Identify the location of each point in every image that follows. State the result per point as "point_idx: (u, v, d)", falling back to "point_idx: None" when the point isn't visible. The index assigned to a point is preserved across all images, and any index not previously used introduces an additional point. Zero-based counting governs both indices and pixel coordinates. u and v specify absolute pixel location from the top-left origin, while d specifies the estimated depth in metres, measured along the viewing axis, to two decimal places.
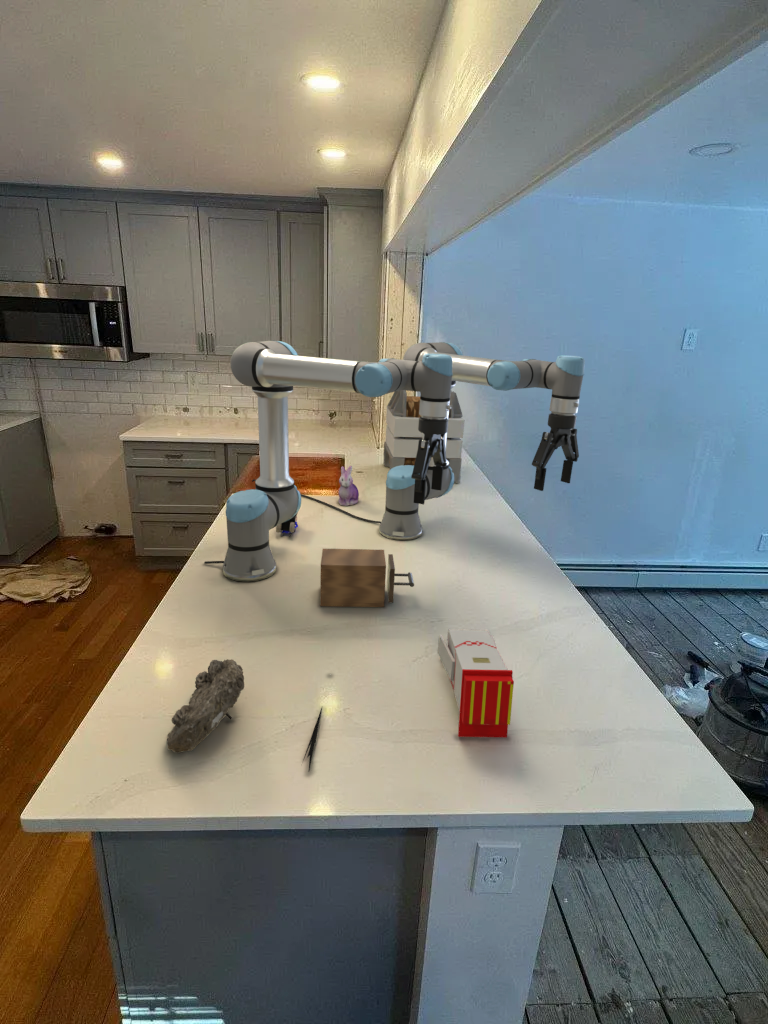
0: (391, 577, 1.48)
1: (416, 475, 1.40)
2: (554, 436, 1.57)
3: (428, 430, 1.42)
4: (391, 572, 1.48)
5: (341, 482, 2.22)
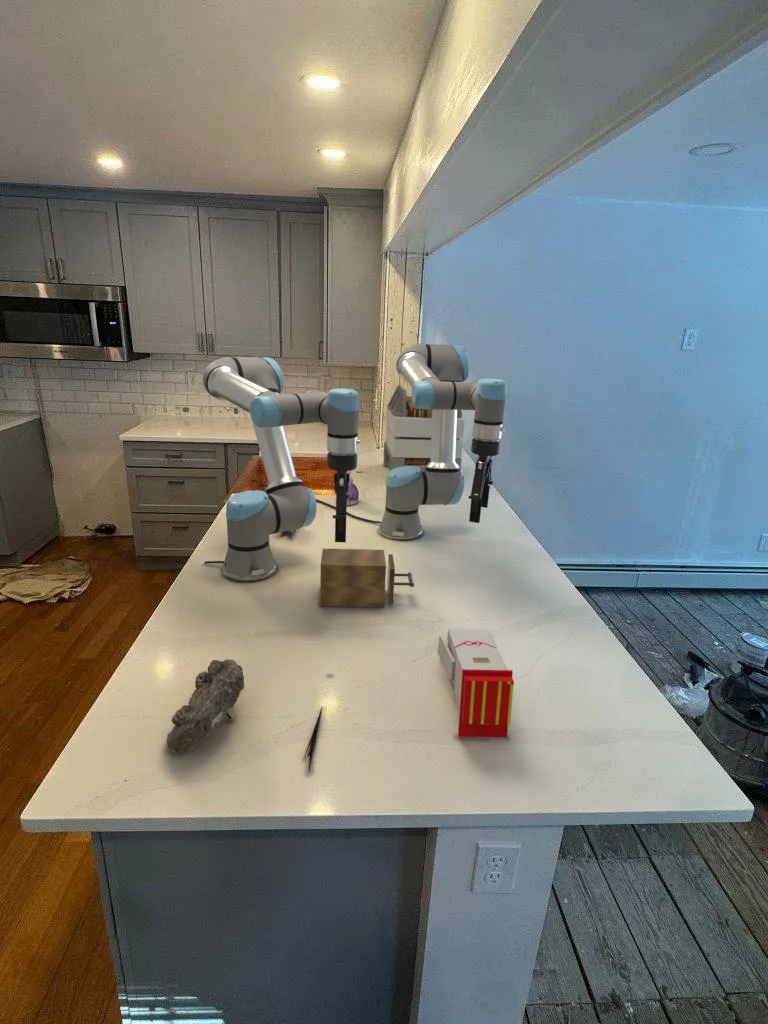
0: (391, 577, 1.48)
1: (340, 515, 1.36)
2: None
3: (342, 467, 1.39)
4: (391, 572, 1.48)
5: None
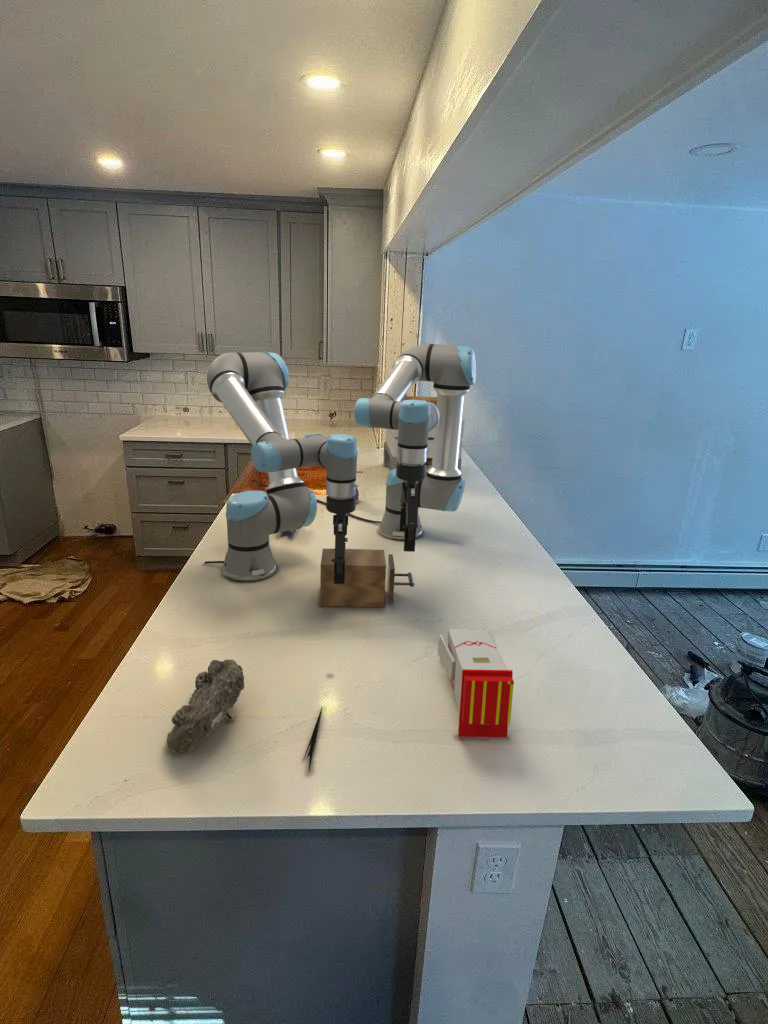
0: (391, 577, 1.48)
1: (339, 559, 1.41)
2: None
3: (340, 511, 1.42)
4: (391, 572, 1.48)
5: None
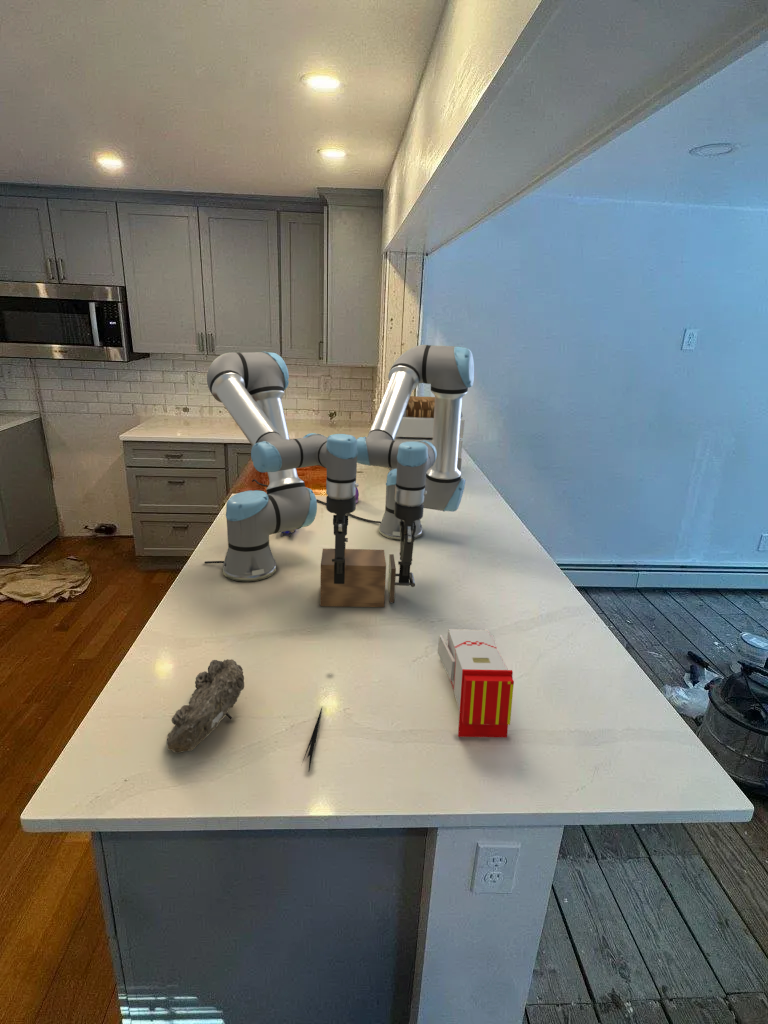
0: (392, 577, 1.48)
1: (339, 559, 1.41)
2: (412, 529, 1.45)
3: (340, 511, 1.42)
4: (392, 572, 1.48)
5: None
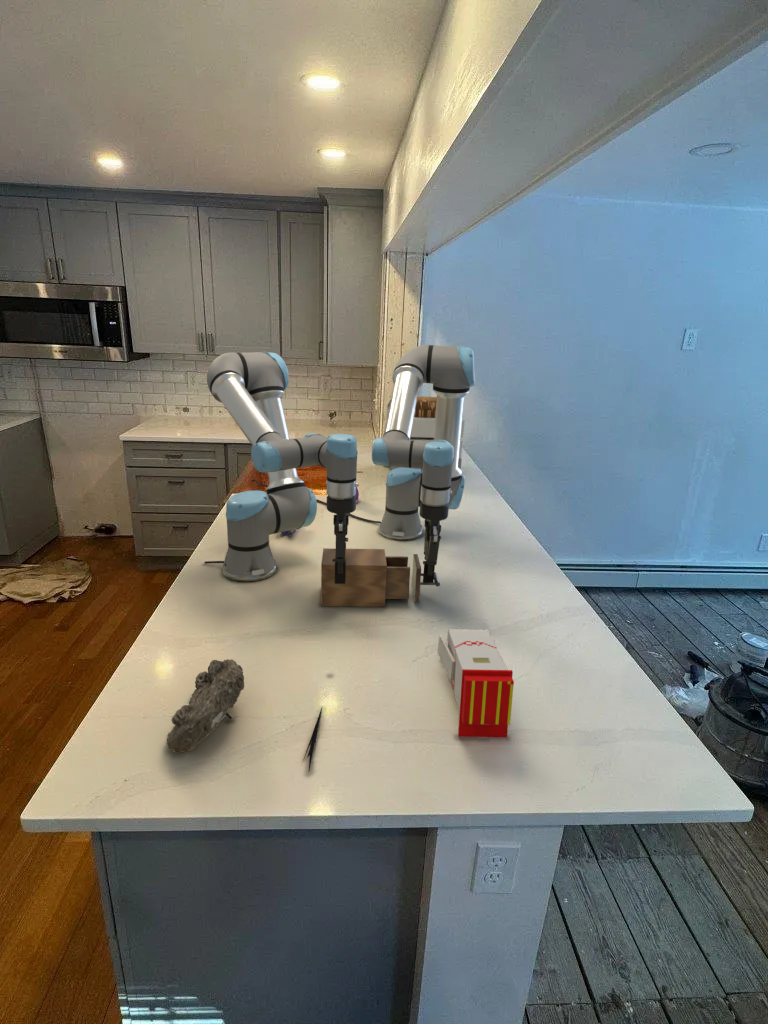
0: (417, 577, 1.49)
1: (340, 559, 1.41)
2: (438, 529, 1.45)
3: (341, 510, 1.42)
4: (417, 572, 1.48)
5: None
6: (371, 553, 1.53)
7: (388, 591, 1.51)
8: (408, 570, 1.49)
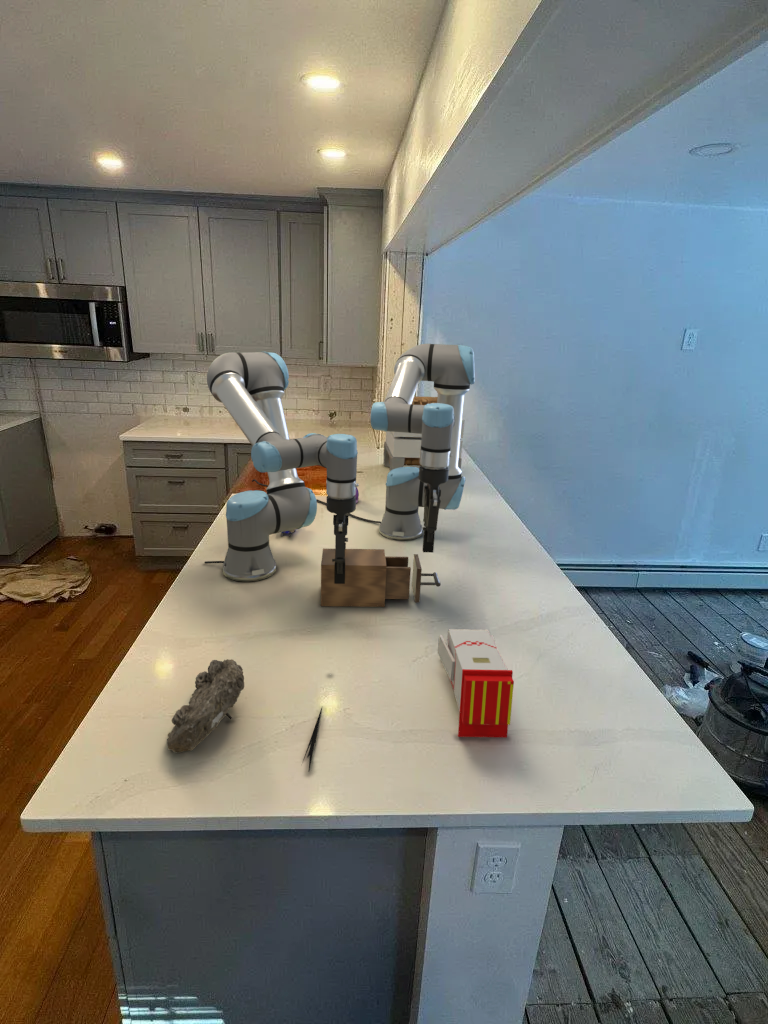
0: (418, 577, 1.49)
1: (339, 559, 1.41)
2: (438, 493, 1.42)
3: (341, 510, 1.42)
4: (418, 572, 1.48)
5: None
6: (371, 553, 1.53)
7: (388, 591, 1.51)
8: (408, 570, 1.49)
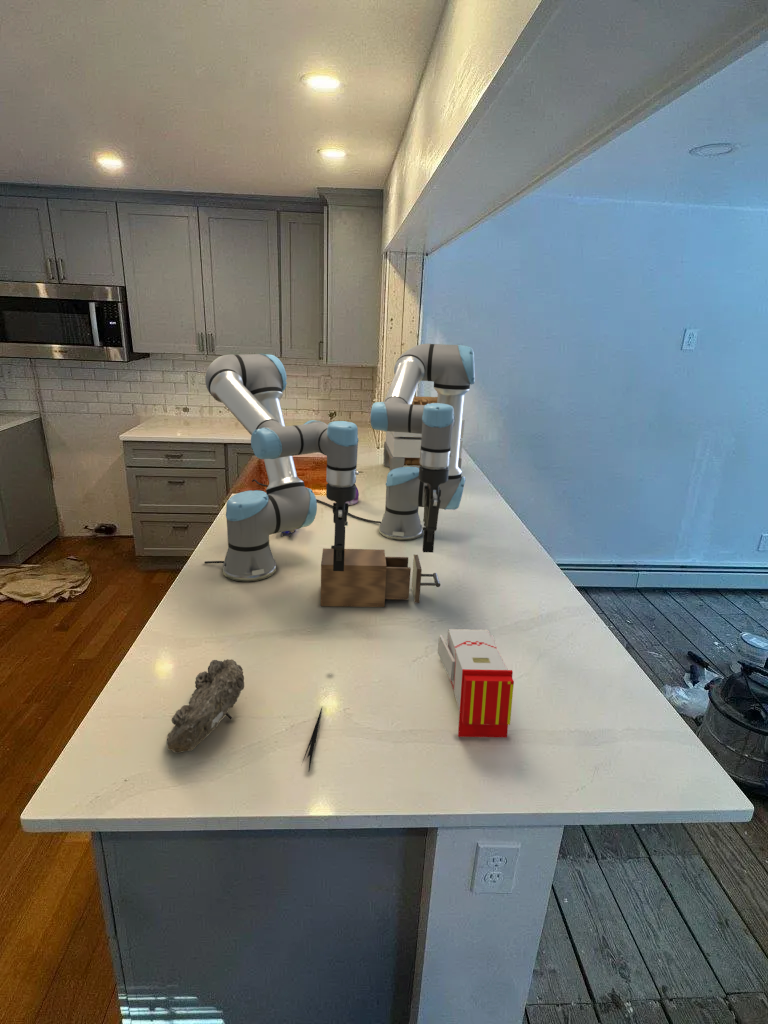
0: (418, 577, 1.49)
1: (338, 546, 1.39)
2: (438, 493, 1.42)
3: (341, 498, 1.41)
4: (418, 572, 1.48)
5: None
6: (371, 553, 1.53)
7: (388, 591, 1.51)
8: (408, 570, 1.49)
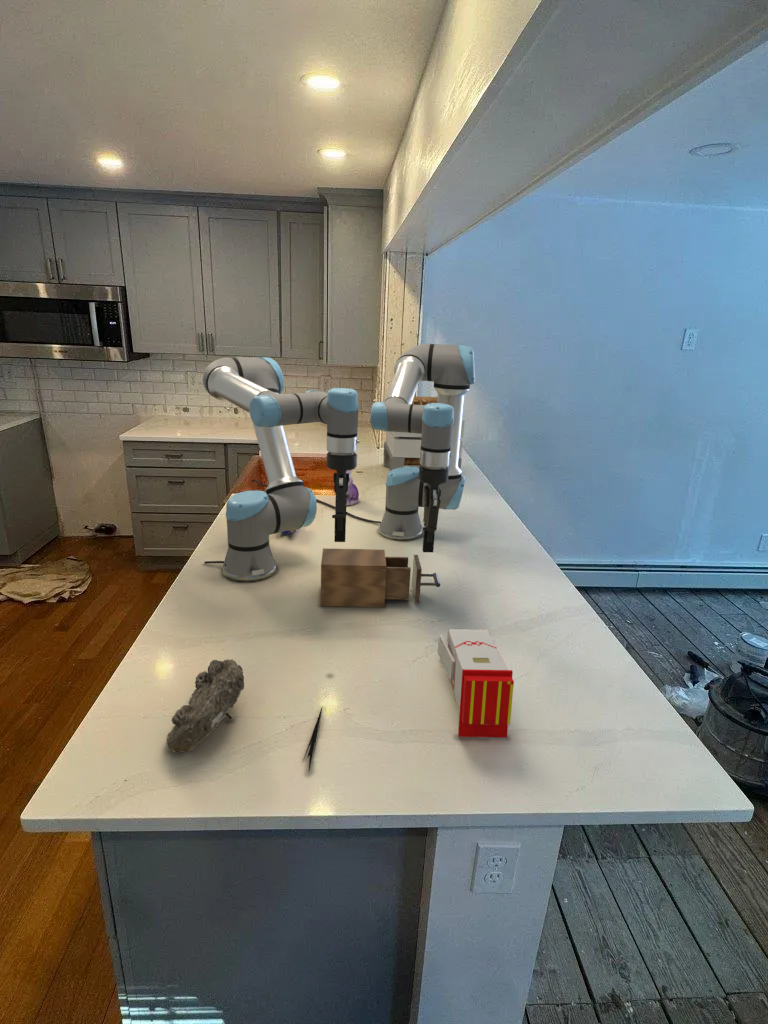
0: (418, 577, 1.49)
1: (340, 515, 1.36)
2: (438, 493, 1.42)
3: (341, 467, 1.38)
4: (418, 572, 1.48)
5: None
6: (371, 553, 1.53)
7: (388, 591, 1.51)
8: (408, 570, 1.49)
